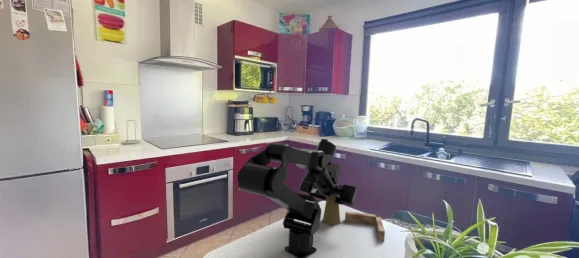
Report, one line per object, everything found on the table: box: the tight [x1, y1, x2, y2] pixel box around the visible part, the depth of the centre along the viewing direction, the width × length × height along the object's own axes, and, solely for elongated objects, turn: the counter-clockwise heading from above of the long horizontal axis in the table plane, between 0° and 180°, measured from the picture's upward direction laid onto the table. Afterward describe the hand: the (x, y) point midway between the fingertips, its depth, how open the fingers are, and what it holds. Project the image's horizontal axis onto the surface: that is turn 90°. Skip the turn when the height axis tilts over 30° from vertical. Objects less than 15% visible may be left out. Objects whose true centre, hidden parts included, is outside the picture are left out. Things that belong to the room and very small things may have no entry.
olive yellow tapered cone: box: [322, 194, 341, 226], centre depth 90 cm, size 6×6×11 cm
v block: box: [344, 210, 386, 242], centre depth 87 cm, size 8×16×3 cm, turn 33°
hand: (334, 201), depth 91 cm, fingers closed on olive yellow tapered cone, 5 cm apart
